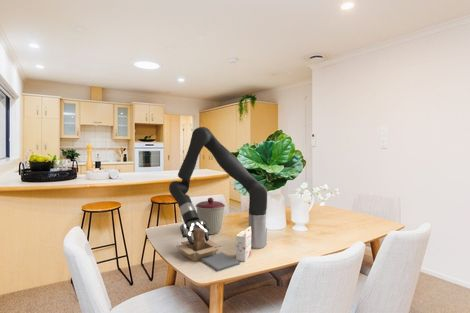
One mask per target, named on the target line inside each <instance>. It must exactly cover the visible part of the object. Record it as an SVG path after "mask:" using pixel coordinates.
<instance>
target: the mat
mask: <svg viewBox="0 0 470 313" xmlns="http://www.w3.org/2000/svg"><path fill="white" fill-rule="evenodd" d="M199 261H201V262H203V263H204V264H206V265H208V266H209V267H210V268H212V269H213V270H215V271H216V272H221V271H224V270H226V269H229V268H233V267H235V266H238V265H240V263H241V261H238V260H236V258H234V257H232V256H230V255H228V254H226V253H224V252H222V251H219V252H216V254H213V255H209V256H206V257H202V258H200V260H199Z"/></svg>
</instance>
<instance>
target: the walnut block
mask: <svg viewBox="0 0 470 313" xmlns="http://www.w3.org/2000/svg"><path fill="white" fill-rule="evenodd" d="M192 235H193V236H192V239H193V242H194V243H193V251H199V250H203V249H204V248H205V230H204V229H202V228H198V229H193V234H192Z"/></svg>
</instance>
